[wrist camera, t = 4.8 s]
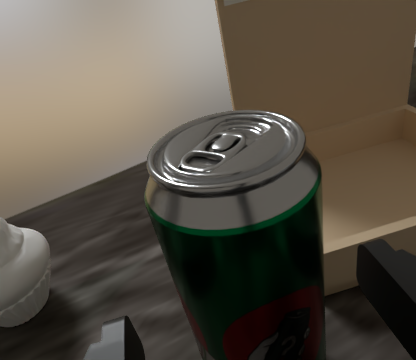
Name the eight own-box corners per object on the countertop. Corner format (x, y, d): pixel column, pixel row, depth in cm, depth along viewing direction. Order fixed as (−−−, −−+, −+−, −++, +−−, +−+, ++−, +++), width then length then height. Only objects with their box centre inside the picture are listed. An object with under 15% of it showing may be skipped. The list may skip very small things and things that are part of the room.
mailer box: (315, 299, 18) (300, -26, 10) (244, 180, 29) (210, -26, 21) (547, 224, 20) (700, -124, 11) (398, 136, 30) (422, -77, 22)
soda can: (341, 350, 16) (347, 108, 10) (300, 467, 13) (266, 221, 6) (246, 309, 19) (201, 100, 12) (192, 396, 16) (93, 175, 9)
